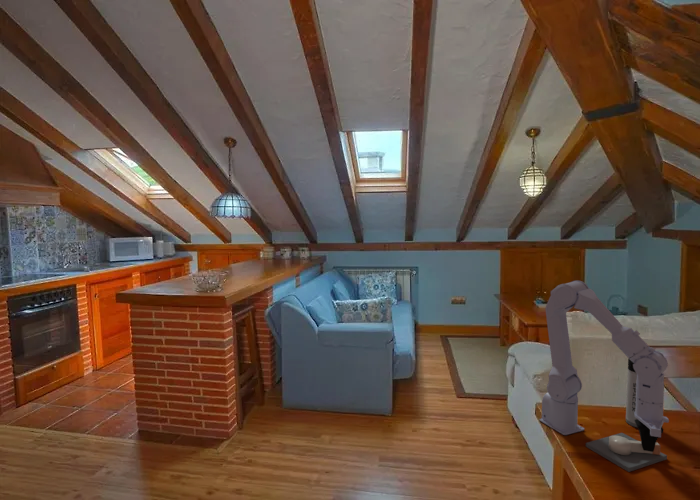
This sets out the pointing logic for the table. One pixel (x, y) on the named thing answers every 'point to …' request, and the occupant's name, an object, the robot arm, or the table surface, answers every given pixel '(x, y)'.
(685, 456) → the table surface
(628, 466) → the flat gray base
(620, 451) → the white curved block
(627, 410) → the travel mug
